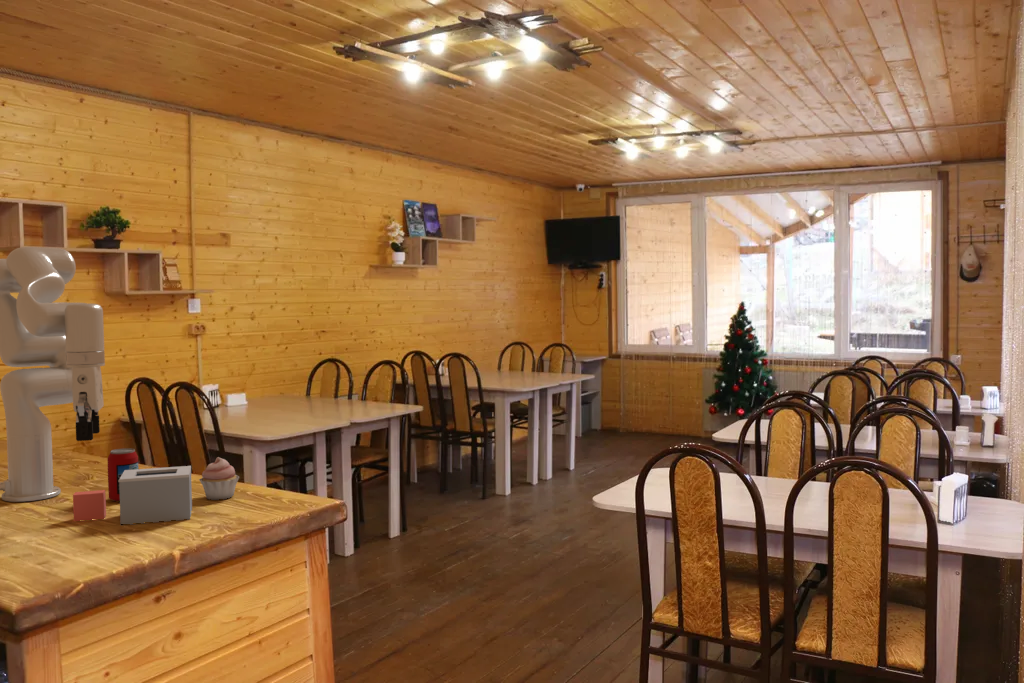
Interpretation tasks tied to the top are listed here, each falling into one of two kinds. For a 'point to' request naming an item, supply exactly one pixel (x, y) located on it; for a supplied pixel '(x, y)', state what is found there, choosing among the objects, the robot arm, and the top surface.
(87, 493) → the block
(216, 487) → the cupcake
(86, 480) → the top surface
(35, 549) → the top surface
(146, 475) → the grey box
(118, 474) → the beverage can
